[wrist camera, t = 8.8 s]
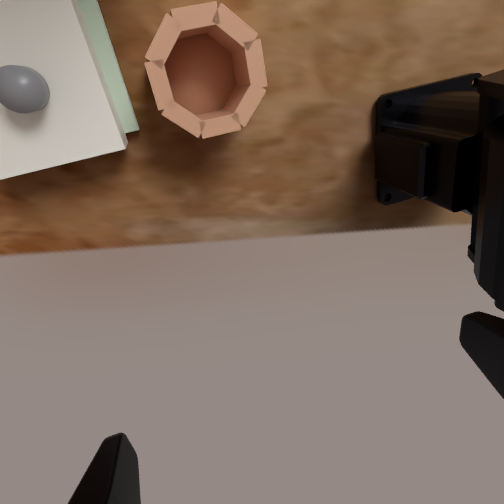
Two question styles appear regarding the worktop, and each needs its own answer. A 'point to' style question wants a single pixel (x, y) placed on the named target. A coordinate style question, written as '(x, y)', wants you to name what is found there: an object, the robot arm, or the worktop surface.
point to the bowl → (206, 69)
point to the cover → (51, 89)
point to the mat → (108, 63)
